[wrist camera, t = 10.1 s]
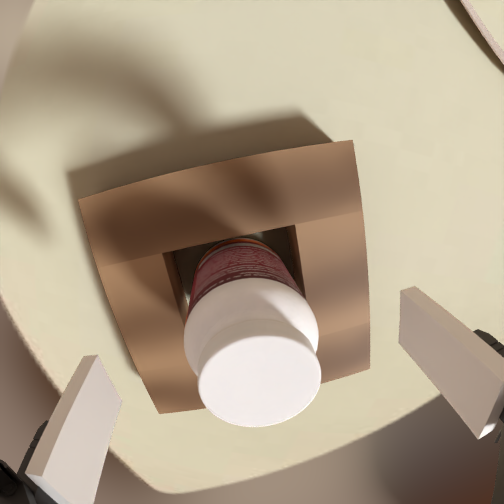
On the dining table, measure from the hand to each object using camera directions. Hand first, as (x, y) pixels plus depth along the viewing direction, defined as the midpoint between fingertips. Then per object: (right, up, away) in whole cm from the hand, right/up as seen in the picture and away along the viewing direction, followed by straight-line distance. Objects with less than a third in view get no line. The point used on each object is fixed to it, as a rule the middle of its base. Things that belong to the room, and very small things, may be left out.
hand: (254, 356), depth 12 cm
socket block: (-1, +2, +9) cm, 10 cm away
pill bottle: (-1, +2, +9) cm, 10 cm away
